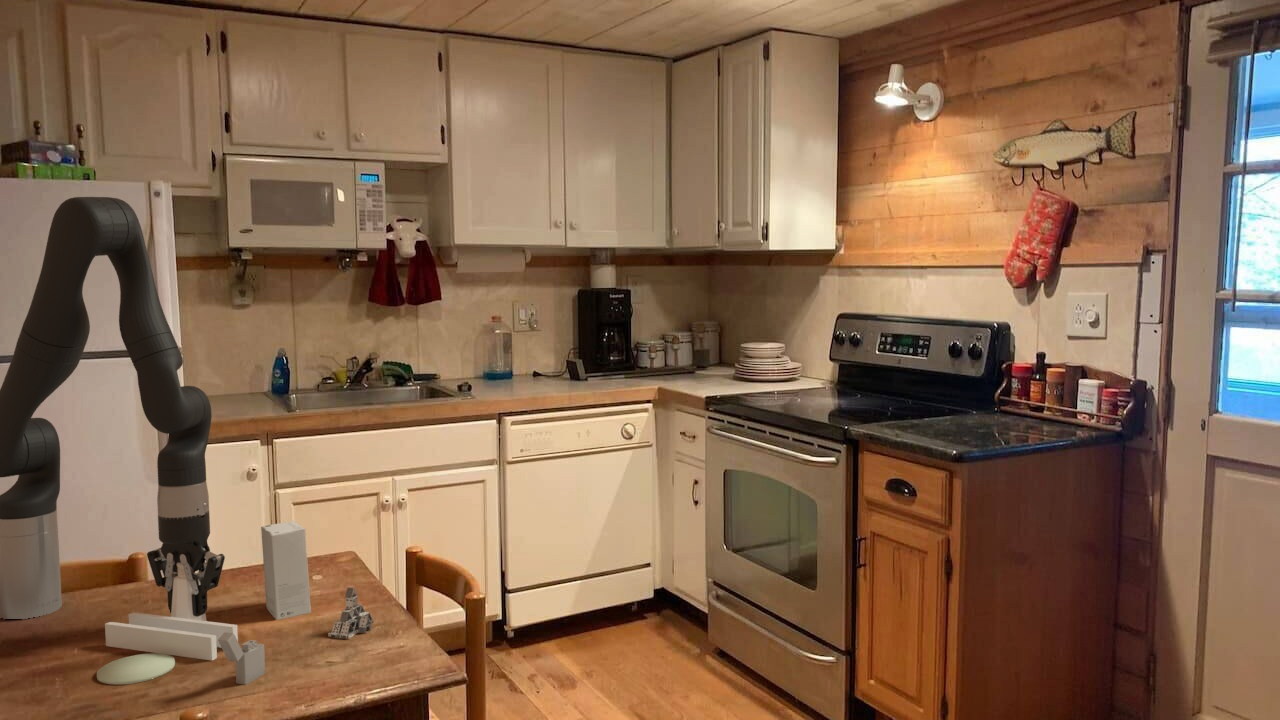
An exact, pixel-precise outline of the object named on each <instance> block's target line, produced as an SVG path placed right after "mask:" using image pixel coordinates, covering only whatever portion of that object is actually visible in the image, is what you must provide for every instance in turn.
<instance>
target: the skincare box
mask: <svg viewBox="0 0 1280 720" xmlns="http://www.w3.org/2000/svg"><path fill="white" fill-rule="evenodd" d="M260 527H261V528H260V530H261V531H260V533H261V544H262V559H263V562H262V563H263V576H264V577H263V578H264V591H265V604H266V607H265V608H266V609H267V610H268V612H269V613H270V614H271V615H272V617H273V618H274V619H275V620H276V621H280V620H285V619H289V618H290V619H291V618H294V617H298V616H303V615H308V614H312V610H311V609H312V608H311V597H310V581H309V579H310V577H309V566H308V565H309V564H308V563H309V562H308V553H307V539H306V538H307V537H306V534H307V533H306V528H304V527H303V526H302V525H300V524H298V523H297V522H296V521H294V520H293V521H286V522H279V523H274V524H273V523H272V524H268V525H262V526H260Z"/></svg>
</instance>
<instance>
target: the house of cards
mask: <svg viewBox="0 0 1280 720" xmlns="http://www.w3.org/2000/svg"><path fill="white" fill-rule="evenodd" d="M358 596H359V595H358V593H357V590H356V589H355V587H350V586H349V587H346V592H345V595H344V599H345V608H344V609H343V610H341V613H340V617H339V619H337V620H336V621H334V623H333V627H332V630H331V631H330V632H327V634H328V638H331V639H332V638H333V639H343V640H350V638H352V637H353V636H355V635H357V634H358V633H359V634H367V631H372V624H374V619H373V618H372V616H371V612H368V611H366V610H365V608H364V606H363V604H361V603H358Z"/></svg>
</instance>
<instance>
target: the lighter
mask: <svg viewBox="0 0 1280 720" xmlns="http://www.w3.org/2000/svg"><path fill="white" fill-rule="evenodd" d="M218 641H219V643H220V645H221V647H222V648H221V650H222V651H223V652H224V656H225V657H226V659H227V661H228V662H234V663H235V682H236V683H235V684H237V685H248V684H249V683H252V682H253V681H255V680H257V679H258V678H261V677H262V676H263V675H266V663H265V661H266V660H265V659H266V658H265V656H266V655H265V644H264V643H259V642H258V640H255V639H249V640H247V641H245V642H243V643H242V644H241V645H240V643H239V640H238V641H237V639H236V637H235V635H234V634H233V633H227V632H225V633H224V634H223V635H222V636H221V637H220V638H219V639H218Z"/></svg>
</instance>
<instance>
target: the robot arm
mask: <svg viewBox="0 0 1280 720" xmlns="http://www.w3.org/2000/svg"><path fill="white" fill-rule="evenodd" d="M147 249H148V248H147V246H146V241H145V237H144V233H143V230H142V226H141V224H140V221H139V218H138V216H137V213H136V212H135V210H134V209H133V207H132V206H131V205H130V204H129V203H128V202H126V201H125V200H123V199H120V198H118V197H111V196H109V197H108V196H74V197H70V198H68V199H65V200H64V201H63V202H62V203H61V204H59V206H58V208H56V210H55V212H54V214H53V217H52V219H51V224H50V228H49V231H48V237H47V242H46V246H45V252H44V256H43V261H42V265H41V269H40V274H39V277H38V280H37V284H36V287H35V290H34V293H33V295H32V298H31V299H32V300H31V303H30V307H29V308H28V312H27V315H26V317H25V318H24V321H23V323H22V327H21V329H20V332H19V335H18V338H17V341H16V345H15V348H14V352H13V355H12V358H11V361H10V364H9V366H8V369H7V372H6V374H5V376H4V379H3V381H2V383H1V384H2V385H1V387H0V478H8V477H9V478H10V477H14V476H18V478H17V480H16V481H15V483H14V484H13V485H12V486H11V487H10V488H9V489H8V490H6V491H5V492H3V493H1V494H0V617H1V618H4V619H3V620H5V619H22V620H28V618H30V619H34V618H33V617H35V618H40V617H43V615H44V616H47V615H50V614H52V613H54V612H56V611H58V610H60V609H61V608H62V606H63V604H62V603H63V601H62V580H61V566H60V565H61V563H60V559H61V558H60V545H59V541H60V540H59V528H58V526H59V525H58V510H57V509H58V507H57V502H58V498H59V495H60V490H61V446H60V445H61V444H60V438H59V434H58V432H57V429H56V427H55V426H54V424H53V423H52V422H51V421H49V420H48V419H47V418H43V417H33V415H34V414H35V412H36V411H37V409H38V408H39V407H40V406H41V404H42V403H44V402H45V400H47V398H49V396H51V395H52V394H53V393H55V391H56V390H57V389H58V388H59V387H60V386H61V385H63V384H64V382H65V381H67V379H69V377H70V376H71V375H72V374H73V373H74V372H75V370H76V369H77V367H78V365H79V363H80V361H81V359H82V356H83V354H84V351H85V348H86V345H87V342H88V339H89V335H90V330H91V324H90V319H89V315H88V310H87V307H86V304H85V301H84V297H83V296H84V295H83V288H84V287H83V286H84V283H85V280H86V276H87V273H88V270H89V268H90V266H91V264H92V262H93V260H94V258H95V257H101V256H107V257H108V259H109V261H110V262H111V265H112V266H113V269H114V270H115V272H116V275H117V278H118V283H119V291H120V294H119V296H120V297H119V299H120V300H119V308H118V310H119V312H118V324H119V325H118V327H119V333H120V336H121V340H122V341H123V344H124V348H125V349H126V351H127V353H128V356H129V358H130V360H131V363H132V365H133V367H134V370H135V372H136V373H137V374H136V376H137V384H138V389H139V390H138V391H139V396H140V401H141V407H142V410H143V414H144V416H145V417H146V419H147V421H148V423H149V424H150V425H151V426H152V427H153V428H154V429H155V430H156V431H158V432H159V433H162V434H166V435H168V437H167V442H166V444H165V446H164V447H163V448H162V449H161V450H160V451H159V452H158V454H157V460H156V461H157V466H156V467H157V483H158V484H157V485H158V486H157V494H156V495H157V499H156V503H157V507H156V508H157V527H158V528H157V529H158V539H159V542H161V543H162V544H161V547H159V548H157V549H154V550H151V551H150V550H149V551H148V552H147V553H146V555H147V556H146V557H147V559H148V563H149V566H150V569H151V573H152V576H153V579H154V582H155V585H156V586H157V587H163V588H164V590H165V591H166V592H167V593H166V594H167V607H168V610H169V613H170V614H171V609H172V595H173V582H174V577H176V576H177V575H178V574H177V573H178V567H177V563H181V564H182V565H183V567H184V571H185V575H186V579H187V581H189V582H190V585H191V588H192V592H193V594H192V611H193V615H194V616H197V617H198V616H200V615H203V614H204V613H205V614H206V612H207V610H208V591H210V590H213V589H215V588H217V587H218V586H219V583H220V580H221V579H220V578H221V574H222V572H223V571H222V570H223V567H224V562H225V557H226V556H225V555H224V554H223V553H219V554H216V553H214V552H212V551H211V548H210V546H209V544H208V539H209V536H210V534H211V521H210V518H211V517H210V500H209V499H210V496H209V495H210V494H209V490H208V484H207V466H206V450H207V447H208V443H209V436H210V430H211V425H212V406H211V402H210V399H209V397H208V394H207V393H205V392H204V390H202V389H201V388H199V387H197V386H194V385H183V386H181V382H180V379H179V376H178V370H179V369H181V367H182V366H183V365H184V359H183V355H182V352H181V351H180V348H179V345H178V343H177V341H176V338H175V336H174V334H173V332H172V331H173V330H172V329H171V327H170V325H169V323H168V319H167V317H166V315H165V313H164V311H163V310H164V309H163V307H162V304H161V301H160V297H159V293H158V290H157V287H156V281H155V278H154V273H153V270H152V269H153V268H152V265H151V262H150V258H149V255H148V251H147ZM194 572H195V573H196V572H197V573H196V574H194ZM198 578H199V581H200V585H199V583H198ZM60 607H61V608H60ZM46 614H47V615H46ZM39 616H40V617H39ZM1 618H0V619H1Z"/></svg>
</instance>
